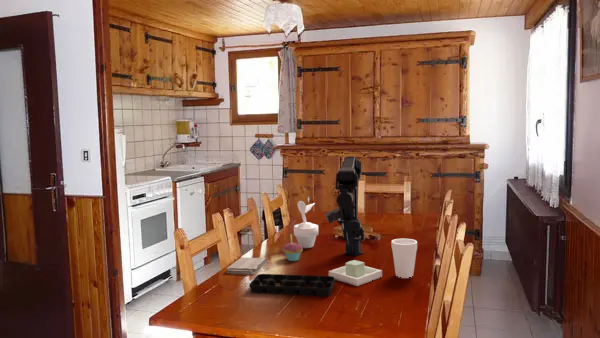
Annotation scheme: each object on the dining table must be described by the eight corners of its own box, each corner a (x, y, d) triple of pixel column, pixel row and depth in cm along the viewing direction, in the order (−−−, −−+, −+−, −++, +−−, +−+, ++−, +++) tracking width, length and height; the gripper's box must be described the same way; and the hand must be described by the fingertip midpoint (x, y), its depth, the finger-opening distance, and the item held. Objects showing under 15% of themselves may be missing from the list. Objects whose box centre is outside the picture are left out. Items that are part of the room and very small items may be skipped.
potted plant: (305, 251, 225) (304, 196, 222) (289, 246, 233) (287, 193, 231) (325, 246, 233) (324, 192, 230) (309, 241, 242) (307, 190, 239)
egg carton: (337, 298, 167) (337, 287, 166) (247, 301, 166) (247, 290, 166) (333, 281, 184) (333, 271, 184) (252, 283, 184) (251, 273, 184)
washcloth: (225, 275, 195) (225, 267, 194) (240, 262, 212) (240, 255, 212) (254, 276, 192) (254, 268, 192) (267, 263, 210) (267, 255, 209)
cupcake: (300, 262, 207) (299, 234, 206) (280, 262, 209) (279, 233, 208) (304, 257, 215) (303, 229, 214) (285, 256, 217) (284, 229, 216)
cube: (354, 272, 190) (354, 259, 189) (364, 275, 186) (364, 262, 186) (345, 275, 187) (345, 262, 186) (355, 278, 183) (355, 265, 182)
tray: (353, 269, 196) (353, 263, 196) (382, 276, 186) (382, 270, 186) (328, 277, 187) (328, 271, 187) (357, 286, 177) (357, 279, 176)
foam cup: (418, 272, 190) (418, 239, 189) (416, 280, 181) (415, 245, 180) (393, 270, 193) (393, 237, 192) (389, 278, 184) (389, 243, 183)
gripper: (322, 199, 200) (323, 236, 202) (330, 208, 182) (331, 250, 184) (350, 197, 201) (350, 235, 203) (360, 207, 183) (360, 248, 185)
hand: (347, 242), depth 194 cm, fingers open, 9 cm apart
